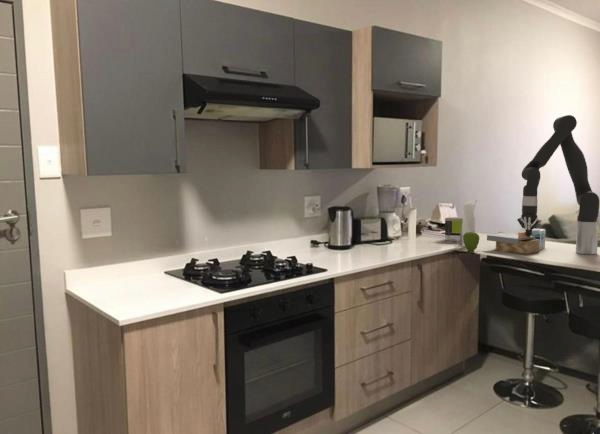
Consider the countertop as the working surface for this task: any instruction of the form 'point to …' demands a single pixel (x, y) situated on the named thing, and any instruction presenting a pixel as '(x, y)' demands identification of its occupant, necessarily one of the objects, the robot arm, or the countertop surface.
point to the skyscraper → (467, 220)
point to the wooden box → (519, 247)
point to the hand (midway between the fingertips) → (528, 236)
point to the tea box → (453, 228)
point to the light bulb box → (539, 236)
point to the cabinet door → (508, 237)
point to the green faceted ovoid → (471, 241)
